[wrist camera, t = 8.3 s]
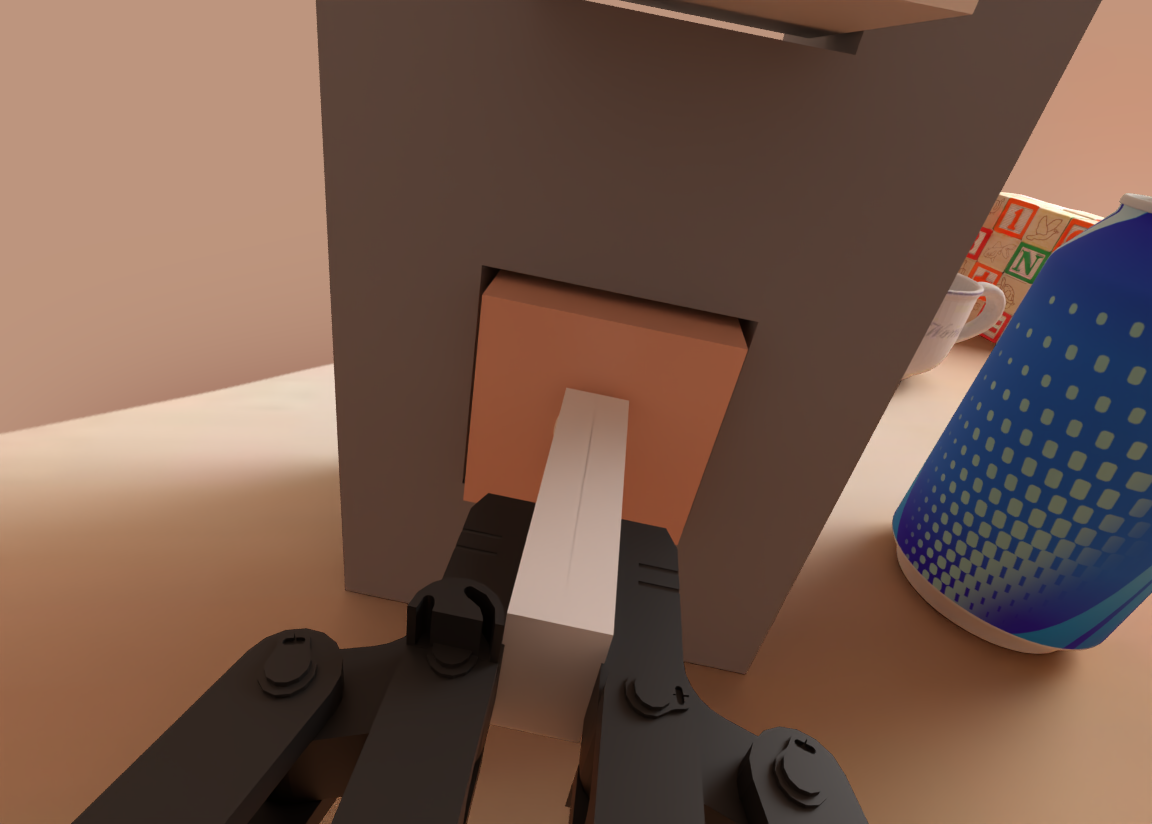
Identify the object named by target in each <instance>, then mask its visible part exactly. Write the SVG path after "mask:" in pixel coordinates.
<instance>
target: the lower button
mask: <svg viewBox="0 0 1152 824" xmlns="http://www.w3.org/2000/svg"><path fill="white" fill-rule="evenodd" d="M747 351H748V348H747V345H746V342H745V339H744V336H743V332H742V329H741V326H740V323H739V320H738V318H737V317H732V316H727V315H722V314H717V313H712V312H708V311H703V310H698V309H693V308H688V307H683V306H678V305H674V304H669V303H664V302H659V301H654V300H649V299H644V298H640V297H635V296H630V295H625V294H620V293H615V292H610V291H606V290H601V289H596V288H591V287H586V286H581V285H576V284H572V283H567V282H562V281H557V280H552V279H547V278H543V277H538V276H533V275H528V274H523V273H518V272H513V271H509V270H504V269H501V270H500V271H499V273H498V274H497V275H496V277H495V278H494V279H493V281H492V282H491V283H490V285H489V286H488V288H487V289H486V290H485V292H484V293H483V294H482V303H481V314H480V325H479V335H478V346H477V357H476V368H475V379H474V389H473V400H472V411H471V422H470V432H469V443H468V454H467V465H466V476H465V486H464V497H463V500H464V501H469V502H474V503H477V502H478V501H479V500H481V499H482V498H483V497H484V496H485V495H486V494H488V493H491V494H496V495H501V496H506V497H511V498H515V499H520V500H525V501H530V502H535V503H536V501H537V497H538V494H539V490H540V486H541V482H542V478H543V475H544V471H545V467H546V463H547V459H548V456H549V452H550V448H551V444H552V440H553V437H554V433H555V429H556V425H557V421H558V418H559V414H560V410H561V406H562V402H563V399H564V395H565V391H566V388H571V389H576V390H580V391H585V392H590V393H595V394H600V395H605V396H609V397H614V398H619V399H624V400H629V412H628V427H627V442H626V456H625V471H624V486H623V501H622V516H621V519H624V520H629V521H634V522H638V523H643V524H648V525H653V526H658V527H662V528H666V529H667V531H668V533H669V535H670V536H671V538H672V540H673V542H674V544H675V545H678V543H679V540H680V537H681V534H682V531H683V529H684V526H685V523H686V520H687V518H688V515H689V512H690V509H691V506H692V504H693V501H694V498H695V495H696V493H697V490H698V487H699V484H700V482H701V479H702V476H703V473H704V470H705V468H706V465H707V462H708V459H709V457H710V454H711V451H712V448H713V446H714V443H715V440H716V437H717V434H718V432H719V429H720V426H721V423H722V421H723V418H724V415H725V412H726V410H727V407H728V404H729V401H730V398H731V396H732V393H733V390H734V387H735V385H736V382H737V379H738V376H739V373H740V371H741V368H742V365H743V362H744V360H745V357H746V354H747Z"/></svg>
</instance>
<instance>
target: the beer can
mask: <svg viewBox="0 0 1152 824" xmlns="http://www.w3.org/2000/svg"><path fill="white" fill-rule="evenodd" d="M1120 203H1121V204H1120V207H1119V208H1118V209H1117V210H1116V211H1115V212H1114V213H1112V214H1110V215H1109V216H1107V217H1106V218H1104V219H1102V220H1101V221H1099V222H1098V223H1096V224H1095V225H1093V226H1091V227H1090V228H1088V229H1087V230H1085V231H1083V232H1082V233H1080V234H1079V235H1077V236H1075V237H1074V238H1072V239H1071V240H1069V241H1068V242H1066V243H1064V244H1063V245H1061V246H1060V247H1058V248H1057V249H1056V250H1055V251H1054V252H1053V253H1052V254H1051V255H1050V256H1049V258H1048V259H1047V261H1046V262H1045V264H1044V266H1043V267H1042V269H1041V271H1040V272H1039V274H1038V276H1037V277H1036V279H1035V281H1034V282H1033V284H1032V286H1031V287H1030V289H1029V291H1028V292H1027V294H1026V296H1025V297H1024V299H1023V301H1022V302H1021V304H1020V306H1019V307H1018V309H1017V311H1016V312H1015V314H1014V315H1013V317H1012V319H1011V320H1010V322H1009V324H1008V325H1007V327H1006V329H1005V330H1004V332H1003V334H1002V335H1001V337H1000V339H999V340H998V342H997V344H996V345H995V347H994V349H993V350H992V352H991V354H990V355H989V357H988V359H987V360H986V362H985V364H984V365H983V367H982V369H981V370H980V372H979V374H978V375H977V377H976V379H975V380H974V382H973V384H972V385H971V387H970V389H969V390H968V392H967V394H966V395H965V397H964V399H963V400H962V402H961V404H960V405H959V407H958V409H957V410H956V412H955V414H954V415H953V417H952V419H951V420H950V422H949V424H948V425H947V427H946V429H945V430H944V432H943V434H942V435H941V437H940V439H939V440H938V442H937V444H936V445H935V447H934V449H933V450H932V452H931V454H930V455H929V457H928V459H927V460H926V462H925V464H924V465H923V467H922V468H921V470H920V472H919V473H918V475H917V477H916V478H915V480H914V482H913V483H912V485H911V487H910V488H909V490H908V492H907V493H906V495H905V497H904V498H903V500H902V502H901V503H900V505H899V507H898V508H897V510H896V512H895V514H894V516H893V520H892V530H893V536H894V539H895V542H896V544H897V558H898V561H899V565H900V567H901V569H902V571H903V573H904V575H905V576H906V578H907V579H908V581H909V582H910V584H911V585H912V586H913V587H914V589H915V590H916V591H917V592H918V593H919V594H920V595H921V596H922V597H923V598H924V599H925V600H926V601H927V602H928V603H929V604H930V605H931V606H932V607H933V608H935V609H936V610H937V611H938V612H939V613H941V614H942V615H943V616H945V617H946V618H947V619H949V620H950V621H952V622H953V623H955V624H956V625H958V626H960V627H961V628H963V629H964V630H966V631H968V632H970V633H972V634H973V635H975V636H977V637H979V638H981V639H983V640H986V641H988V642H990V643H993V644H995V645H998V646H1001V647H1004V648H1007V649H1010V650H1014V651H1019V652H1024V653H1033V654H1043V653H1051V652H1054V651H1057V650H1065V651H1076V650H1085V649H1089V648H1092V647H1095V646H1097V645H1098V644H1100V643H1102V642H1103V641H1104V640H1105V639H1106V638H1107V637H1108V636H1109V635H1110V634H1111V633H1112V632H1113V631H1114V630H1115V629H1116V628H1117V627H1118V626H1119V625H1120V624H1121V623H1122V622H1123V621H1124V620H1125V619H1126V618H1127V617H1128V616H1129V615H1130V614H1131V613H1132V612H1133V611H1134V610H1135V609H1136V608H1137V607H1138V606H1139V605H1140V604H1141V603H1142V602H1143V601H1144V600H1145V599H1146V598H1147V597H1148V596H1149V595H1150V594H1151V593H1152V197H1150V196H1144V195H1138V194H1124V195H1123V196H1122V197H1121V199H1120Z"/></svg>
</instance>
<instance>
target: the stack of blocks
mask: <svg viewBox="0 0 1152 824" xmlns="http://www.w3.org/2000/svg"><path fill="white" fill-rule="evenodd" d="M1102 219H1104V218H1103V217H1099V216H1096V215H1093V214H1090V213H1086V212H1083V211H1077V210H1071V209H1068V208H1065V207H1061V206H1058V205H1054V204H1050V203H1047V202H1044V201H1041V200H1037V199H1034V198H1031V197H1027V196H1024V195H1019V194H1012V193H1004V192H1000V194H999V196H998V198H997V200H996V202H995V203H994V205H993V207H992V209H991V211H990V213H989V215H988V217H987V219H986V220H985V222H984V224H983V226H982V228H981V230H980V232H979V234H978V236H977V237H976V239H975V241H974V243H973V245H972V247H971V249H970V251H969V253H968V255H967V256H966V258H965V260H964V262H963V264H962V266H961V268H960V270H959V272H958V273H959V274H962V275H964V276H966V277H969V278H971V279H972V280H974V281H976V282H987V283H990V284H993V285H995V286H997V287H998V288H999V289H1001V290H1002V291H1003V293H1004V295H1005V299H1006V304H1005V309H1004V311H1003V314H1002V316H1001V317H1000V319H999V320H998V322H997V323H996V324H995V325H994V326H992V327H991V328H990V329H988V330H987V331H985V332H983V333H981V334H979V335H980V336H982V337H984V338H986V339H988V340H990V341H992V342H993V343H995V344H997V342H998V340H999V339H1000V337H1001V335H1002V334H1003V332H1004V330H1005V329H1006V327H1007V325H1008V324H1009V322H1010V320H1011V319H1012V317H1013V315H1014V314H1015V312H1016V311H1017V309H1018V307H1019V306H1020V304H1021V302H1022V301H1023V299H1024V297H1025V296H1026V294H1027V292H1028V291H1029V289H1030V287H1031V286H1032V284H1033V282H1034V281H1035V279H1036V277H1037V276H1038V274H1039V272H1040V271H1041V269H1042V267H1043V266H1044V264H1045V262H1046V261H1047V259H1048V258H1049V256H1050V255H1051V254H1052V253H1053V252H1054V251H1055V250H1056V249H1057V248H1058V247H1060V246H1061V245H1063V244H1064V243H1066V242H1068V241H1069V240H1071V239H1072V238H1074V237H1075V236H1077V235H1079V234H1080V233H1082V232H1083V231H1085V230H1087V229H1088V228H1090V227H1091V226H1093V225H1095V224H1096V223H1098V222H1099V221H1101V220H1102ZM985 305H986V297H985V296H980V297H979V298H978V299H977V301H976V303H975V305H974V307H973V309H972V311H971V313H970V315H969V317H968V319H967V321H966V323H968V322H970V321H972V320H974V319H975V318H976V317H977V316H978V315H979V314H980V313H981V312H982V311H983V309H984V307H985ZM966 323H965V324H966Z"/></svg>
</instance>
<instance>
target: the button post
mask: <svg viewBox="0 0 1152 824" xmlns="http://www.w3.org/2000/svg"><path fill="white" fill-rule="evenodd" d="M1101 1H1102V0H979V1H978V3H977V6H976V8H975V10H974V12H973V14H972V15H965V16H958V17H951V18H944V19H938V20H931V21H924V22H917V23H911V24H904V25H897V26H890V27H883V28H877V29H870V30H863V31H856V32H850V33H843V34H836V35H829V36H822V37H816V38H804V37H799V36H794V35H789V34H784V38H783V40H778V39H773V38H768V37H763V36H758V35H753V34H748V33H743V32H738V31H733V30H728V29H723V28H718V27H713V26H709V25H704V24H698V23H694V22H689V21H684V20H679V19H674V18H669V17H664V16H659V15H654V14H649V13H644V12H640V11H635V10H630V9H625V8H619V7H614V6H610V5H605V4H600V3H595V2H590V1H585V0H316V11H317V12H316V13H317V32H318V52H319V70H320V72H319V73H320V93H321V113H322V133H323V154H324V172H325V193H326V214H327V234H328V253H329V272H330V294H331V314H332V335H333V355H334V375H335V395H336V415H337V435H338V455H339V475H340V496H341V516H342V536H343V556H344V576H345V590H348V591H352V592H357V593H362V594H367V595H371V596H376V597H381V598H386V599H390V600H395V601H400V602H405V603H410V601H411V600H412V599H413V597H414V596H415V595H416V593H417V592H418V591H420V590H421V589H423V588H424V587H426V586H427V585H429V584H430V583H432V582H435V581H439V580H442V578H443V575H444V573H445V570H446V568H447V566H448V563H449V561H450V558H451V556H452V553H453V551H454V549H455V547H456V543H457V541H458V538H459V536H460V534H461V532H462V530H463V526H464V524H465V521H466V519H467V516H468V514H469V511H470V509H471V507H473V506H474V505H475V504H476V503H474V502H469V501H464V500H463V497H464V486H465V476H466V465H467V454H468V443H469V432H470V422H471V411H472V400H473V389H474V379H475V368H476V357H477V346H478V335H479V325H480V314H481V303H482V294H483V293H484V292H485V290H486V289H487V288H488V286H489V285H490V283H491V282H492V281H493V279H494V278H495V277H496V275H497V274H498V273H499V271H500V270H501V269H504V270H509V271H513V272H518V273H523V274H528V275H533V276H538V277H543V278H547V279H552V280H557V281H562V282H567V283H572V284H576V285H581V286H586V287H591V288H596V289H601V290H606V291H610V292H615V293H620V294H625V295H630V296H635V297H640V298H644V299H649V300H654V301H659V302H664V303H669V304H674V305H678V306H683V307H688V308H693V309H698V310H703V311H708V312H712V313H717V314H722V315H727V316H732V317H737V318H738V320H739V323H740V326H741V329H742V332H743V336H744V339H745V342H746V345H747V348H748V351H747V354H746V357H745V360H744V362H743V365H742V368H741V371H740V373H739V376H738V379H737V382H736V385H735V387H734V390H733V393H732V396H731V398H730V401H729V404H728V407H727V410H726V412H725V415H724V418H723V421H722V423H721V426H720V429H719V432H718V434H717V437H716V440H715V443H714V446H713V448H712V451H711V454H710V457H709V459H708V462H707V465H706V468H705V470H704V473H703V476H702V479H701V482H700V484H699V487H698V490H697V493H696V495H695V498H694V501H693V504H692V506H691V509H690V512H689V515H688V518H687V520H686V523H685V526H684V529H683V531H682V534H681V537H680V540H679V543H678V545H675V546H676V547H677V549H678V568H679V572H678V575H679V587H680V590H679V594H680V606H681V625H682V645H683V661H685V662H690V663H694V664H699V665H704V666H709V667H713V668H718V669H723V670H728V671H732V672H737V673H742V674H746V673H747V671H748V669H749V667H750V665H751V663H752V661H753V660H754V658H755V656H756V654H757V652H758V650H759V648H760V646H761V644H762V643H763V641H764V639H765V637H766V635H767V633H768V631H769V629H770V627H771V626H772V624H773V622H774V620H775V618H776V616H777V614H778V612H779V610H780V608H781V607H782V605H783V603H784V601H785V599H786V597H787V595H788V593H789V591H790V590H791V588H792V586H793V584H794V582H795V580H796V578H797V576H798V574H799V573H800V571H801V569H802V567H803V565H804V563H805V561H806V559H807V557H808V555H809V554H810V552H811V550H812V548H813V546H814V544H815V542H816V540H817V538H818V537H819V535H820V533H821V531H822V529H823V527H824V525H825V523H826V521H827V520H828V518H829V516H830V514H831V512H832V510H833V508H834V506H835V504H836V502H837V501H838V499H839V497H840V495H841V493H842V491H843V489H844V487H845V485H846V484H847V482H848V480H849V478H850V476H851V474H852V472H853V470H854V468H855V467H856V465H857V463H858V461H859V459H860V457H861V455H862V453H863V451H864V449H865V448H866V446H867V444H868V442H869V440H870V438H871V436H872V434H873V432H874V431H875V429H876V427H877V425H878V423H879V421H880V419H881V417H882V415H883V414H884V412H885V410H886V408H887V406H888V404H889V402H890V400H891V398H892V396H893V395H894V393H895V391H896V389H897V387H898V385H899V383H900V381H901V379H902V378H903V376H904V374H905V372H906V370H907V368H908V366H909V364H910V362H911V361H912V359H913V357H914V355H915V353H916V351H917V349H918V347H919V345H920V343H921V342H922V340H923V338H924V336H925V334H926V332H927V330H928V328H929V326H930V325H931V323H932V321H933V319H934V317H935V315H936V313H937V311H938V309H939V308H940V306H941V304H942V302H943V300H944V298H945V296H946V294H947V292H948V290H949V289H950V287H951V285H952V283H953V281H954V279H955V277H956V275H957V273H958V272H959V270H960V268H961V266H962V264H963V262H964V260H965V258H966V256H967V255H968V253H969V251H970V249H971V247H972V245H973V243H974V241H975V239H976V237H977V236H978V234H979V232H980V230H981V228H982V226H983V224H984V222H985V220H986V219H987V217H988V215H989V213H990V211H991V209H992V207H993V205H994V203H995V202H996V200H997V198H998V196H999V194H1000V192H1001V190H1002V188H1003V186H1004V184H1005V182H1006V181H1007V179H1008V177H1009V175H1010V173H1011V171H1012V169H1013V167H1014V166H1015V164H1016V162H1017V160H1018V158H1019V156H1020V154H1021V152H1022V150H1023V148H1024V147H1025V145H1026V143H1027V141H1028V139H1029V137H1030V135H1031V133H1032V131H1033V129H1034V128H1035V126H1036V124H1037V122H1038V120H1039V118H1040V116H1041V114H1042V113H1043V111H1044V109H1045V107H1046V105H1047V103H1048V101H1049V99H1050V97H1051V95H1052V94H1053V92H1054V90H1055V88H1056V86H1057V84H1058V82H1059V80H1060V78H1061V77H1062V75H1063V73H1064V71H1065V69H1066V67H1067V65H1068V63H1069V61H1070V60H1071V58H1072V56H1073V54H1074V52H1075V50H1076V48H1077V46H1078V44H1079V42H1080V41H1081V38H1082V37H1083V35H1084V33H1085V31H1086V29H1087V27H1088V25H1089V24H1090V22H1091V20H1092V18H1093V16H1094V14H1095V12H1096V10H1097V8H1098V6H1099V4H1100V3H1101Z"/></svg>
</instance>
